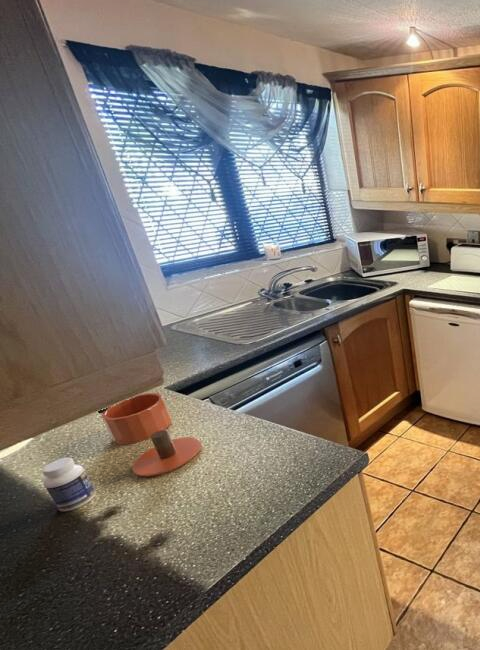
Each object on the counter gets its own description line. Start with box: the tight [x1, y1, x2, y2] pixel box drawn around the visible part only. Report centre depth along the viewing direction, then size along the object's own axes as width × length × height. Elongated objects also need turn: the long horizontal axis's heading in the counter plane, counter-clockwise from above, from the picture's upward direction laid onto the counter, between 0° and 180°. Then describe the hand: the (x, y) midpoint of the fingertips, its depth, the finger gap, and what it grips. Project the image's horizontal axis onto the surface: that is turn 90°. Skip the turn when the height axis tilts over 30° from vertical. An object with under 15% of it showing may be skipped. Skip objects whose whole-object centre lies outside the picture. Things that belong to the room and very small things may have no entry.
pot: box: [101, 392, 173, 445], centre depth 99 cm, size 11×11×8 cm
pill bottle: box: [42, 457, 96, 512], centre depth 77 cm, size 5×5×10 cm
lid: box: [131, 429, 202, 477], centre depth 89 cm, size 12×12×7 cm
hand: (75, 413), depth 76 cm, fingers open, 9 cm apart
